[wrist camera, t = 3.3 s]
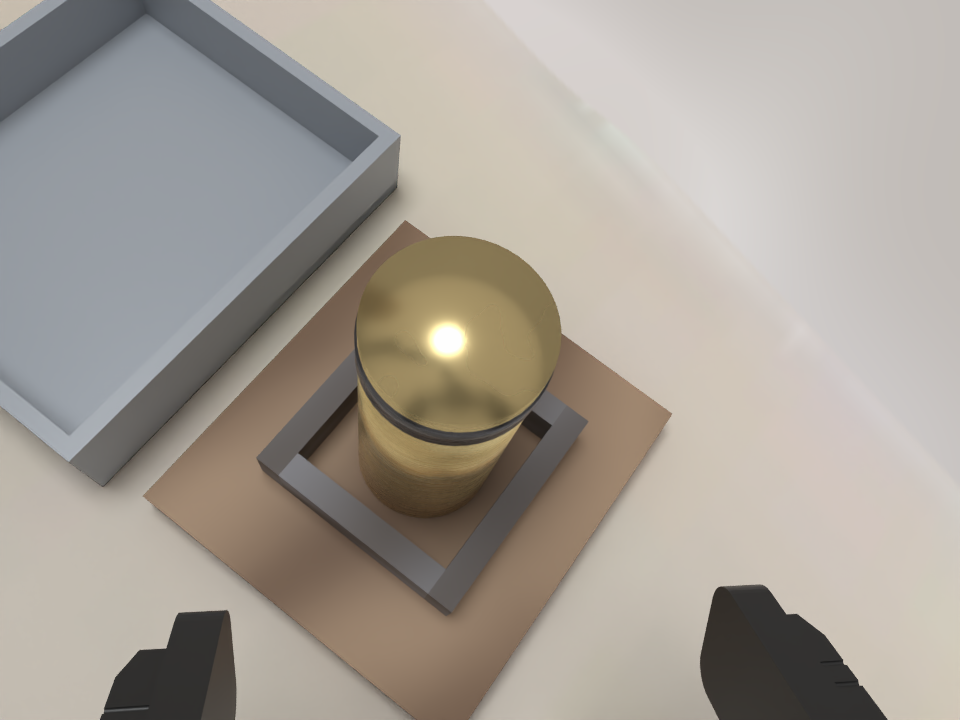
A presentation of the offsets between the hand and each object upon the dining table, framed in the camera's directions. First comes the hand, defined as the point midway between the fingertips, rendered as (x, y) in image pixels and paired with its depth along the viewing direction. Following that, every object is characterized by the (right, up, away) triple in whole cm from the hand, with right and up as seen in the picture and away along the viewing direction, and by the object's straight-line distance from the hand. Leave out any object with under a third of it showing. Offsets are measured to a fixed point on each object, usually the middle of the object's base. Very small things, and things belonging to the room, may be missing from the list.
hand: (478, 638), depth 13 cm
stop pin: (-2, +2, +11) cm, 11 cm away
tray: (-12, +9, +14) cm, 21 cm away
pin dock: (-2, +1, +12) cm, 12 cm away
